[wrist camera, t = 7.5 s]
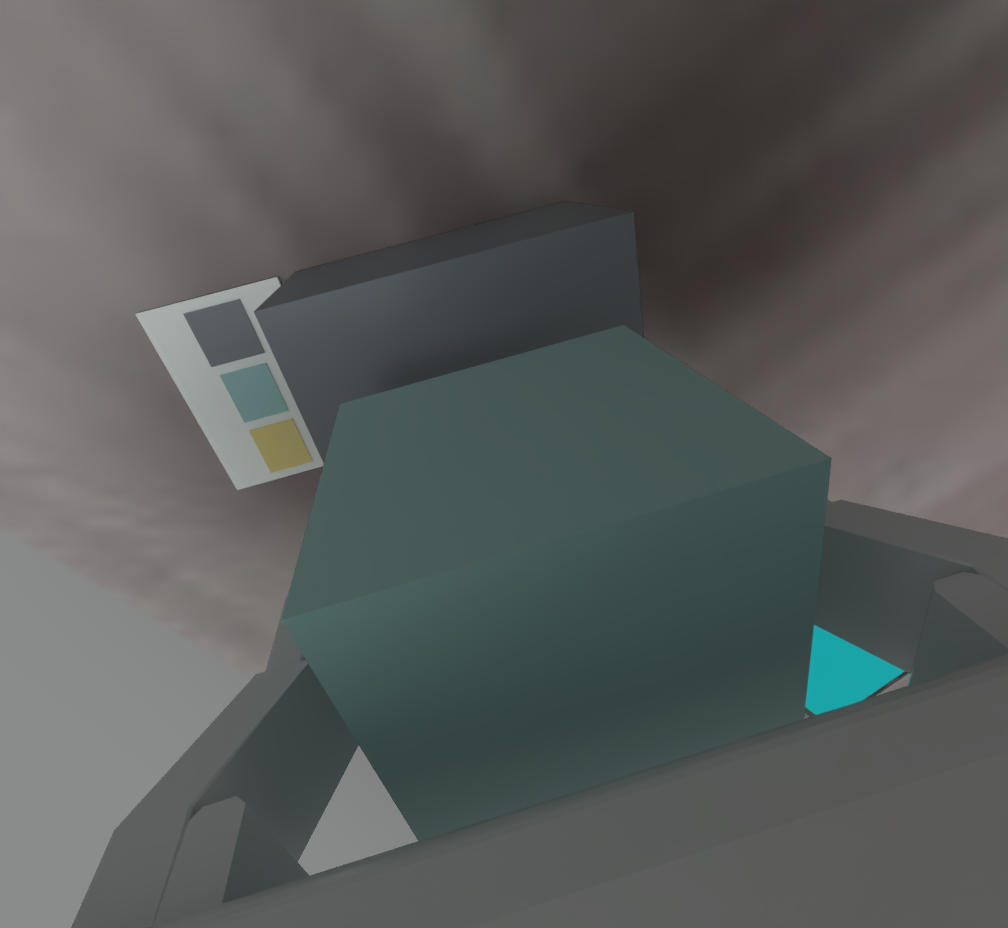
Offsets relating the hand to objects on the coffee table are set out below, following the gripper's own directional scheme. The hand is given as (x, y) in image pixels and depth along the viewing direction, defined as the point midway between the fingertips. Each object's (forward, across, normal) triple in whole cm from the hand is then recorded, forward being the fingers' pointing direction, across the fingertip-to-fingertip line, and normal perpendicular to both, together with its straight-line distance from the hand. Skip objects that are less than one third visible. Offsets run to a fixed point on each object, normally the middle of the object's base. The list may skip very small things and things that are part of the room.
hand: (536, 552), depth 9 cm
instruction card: (+9, +6, -1) cm, 12 cm away
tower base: (+9, 0, 0) cm, 9 cm away
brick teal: (+2, 0, 0) cm, 2 cm away
